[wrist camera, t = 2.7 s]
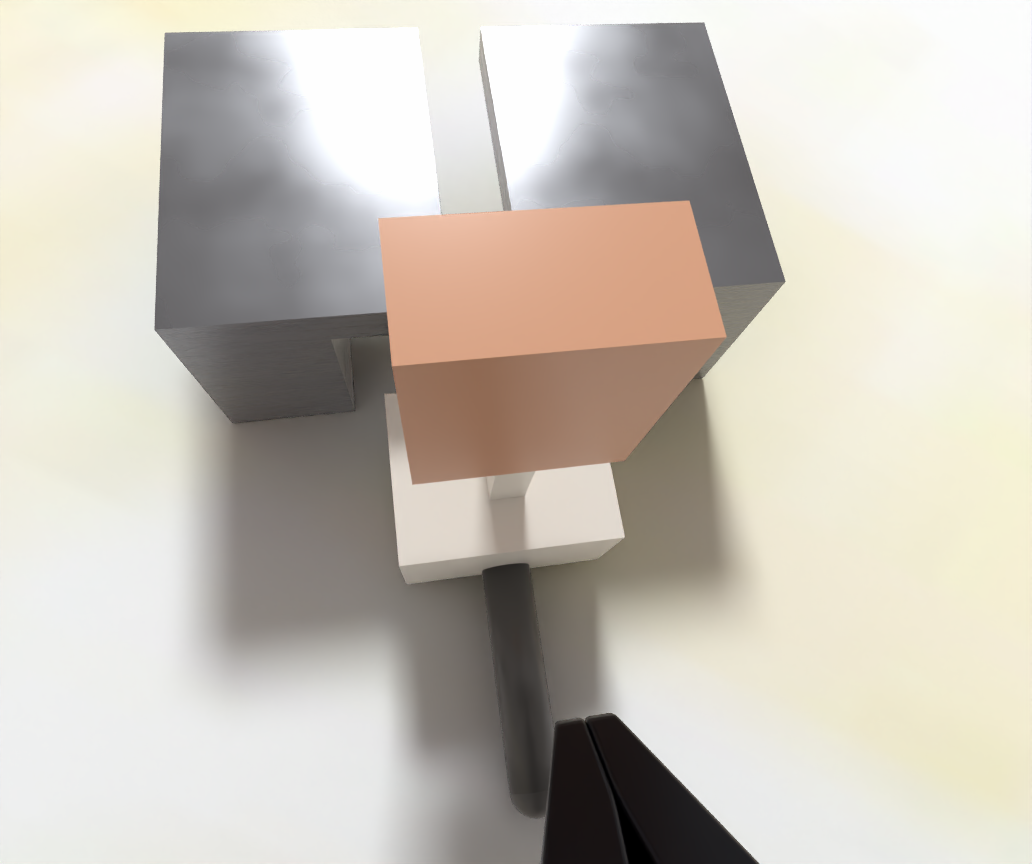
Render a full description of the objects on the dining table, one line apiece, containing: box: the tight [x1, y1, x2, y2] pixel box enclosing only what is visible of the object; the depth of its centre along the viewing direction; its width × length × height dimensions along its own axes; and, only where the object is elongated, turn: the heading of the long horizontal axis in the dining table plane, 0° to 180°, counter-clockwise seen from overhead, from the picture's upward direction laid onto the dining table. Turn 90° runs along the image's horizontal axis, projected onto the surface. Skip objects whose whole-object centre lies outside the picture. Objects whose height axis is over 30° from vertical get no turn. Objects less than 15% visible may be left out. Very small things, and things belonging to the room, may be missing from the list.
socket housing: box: [155, 23, 785, 423], centre depth 18 cm, size 8×14×5 cm, turn 98°
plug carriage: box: [378, 201, 727, 819], centre depth 12 cm, size 10×5×11 cm, turn 8°
